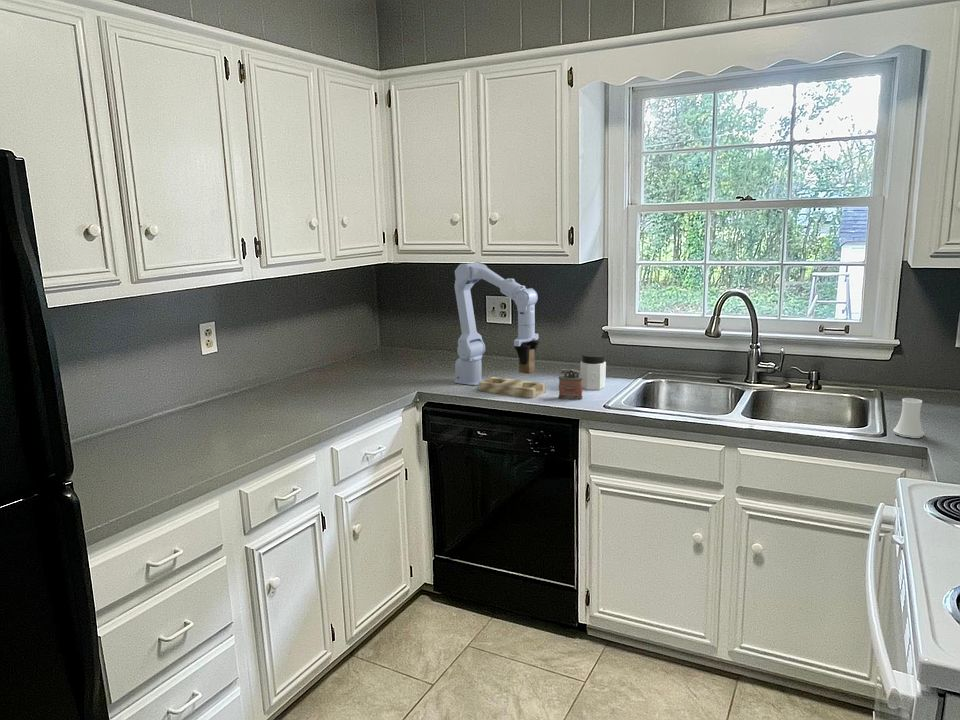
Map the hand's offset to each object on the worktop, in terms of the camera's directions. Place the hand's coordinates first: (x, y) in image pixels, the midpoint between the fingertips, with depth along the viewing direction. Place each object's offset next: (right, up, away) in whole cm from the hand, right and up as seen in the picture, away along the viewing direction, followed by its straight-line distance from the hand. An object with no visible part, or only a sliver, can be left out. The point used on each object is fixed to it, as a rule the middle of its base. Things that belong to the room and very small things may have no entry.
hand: (526, 363), depth 255 cm
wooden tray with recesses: (-5, -10, +4) cm, 12 cm away
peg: (0, -3, +1) cm, 3 cm away
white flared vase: (+104, -20, -49) cm, 117 cm away
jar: (+24, -9, +7) cm, 27 cm away
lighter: (+14, -12, -6) cm, 20 cm away
